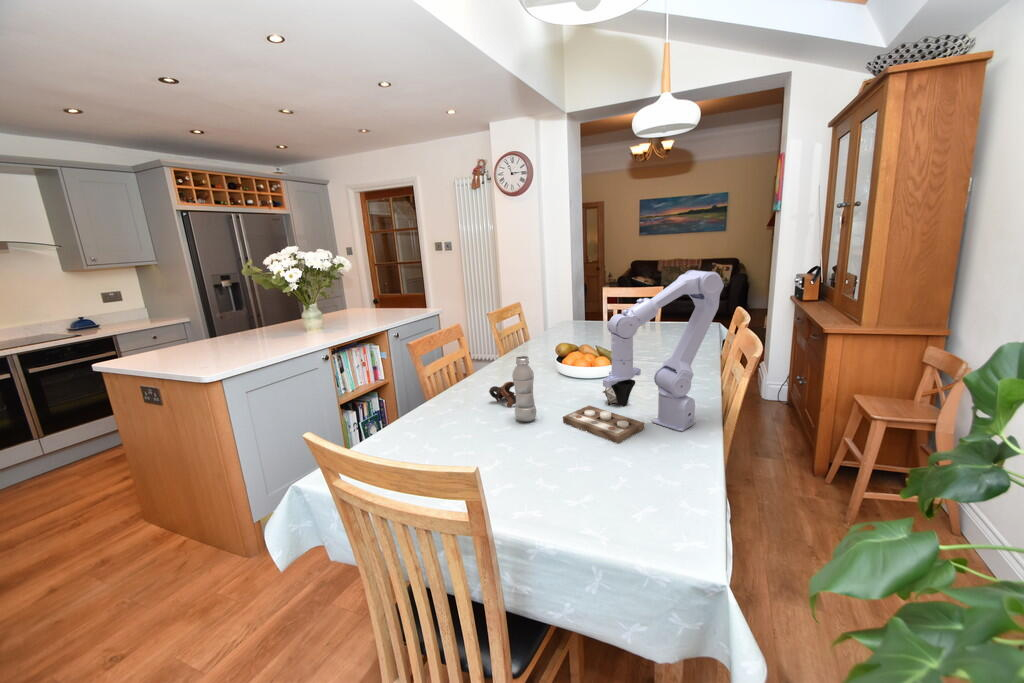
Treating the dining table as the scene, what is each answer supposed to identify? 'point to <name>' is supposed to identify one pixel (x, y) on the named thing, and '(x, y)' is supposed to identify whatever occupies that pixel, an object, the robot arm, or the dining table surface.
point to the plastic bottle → (524, 390)
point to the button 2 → (622, 424)
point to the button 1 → (589, 412)
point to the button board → (603, 424)
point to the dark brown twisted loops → (504, 393)
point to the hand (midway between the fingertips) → (622, 405)
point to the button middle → (605, 416)
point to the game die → (610, 395)
